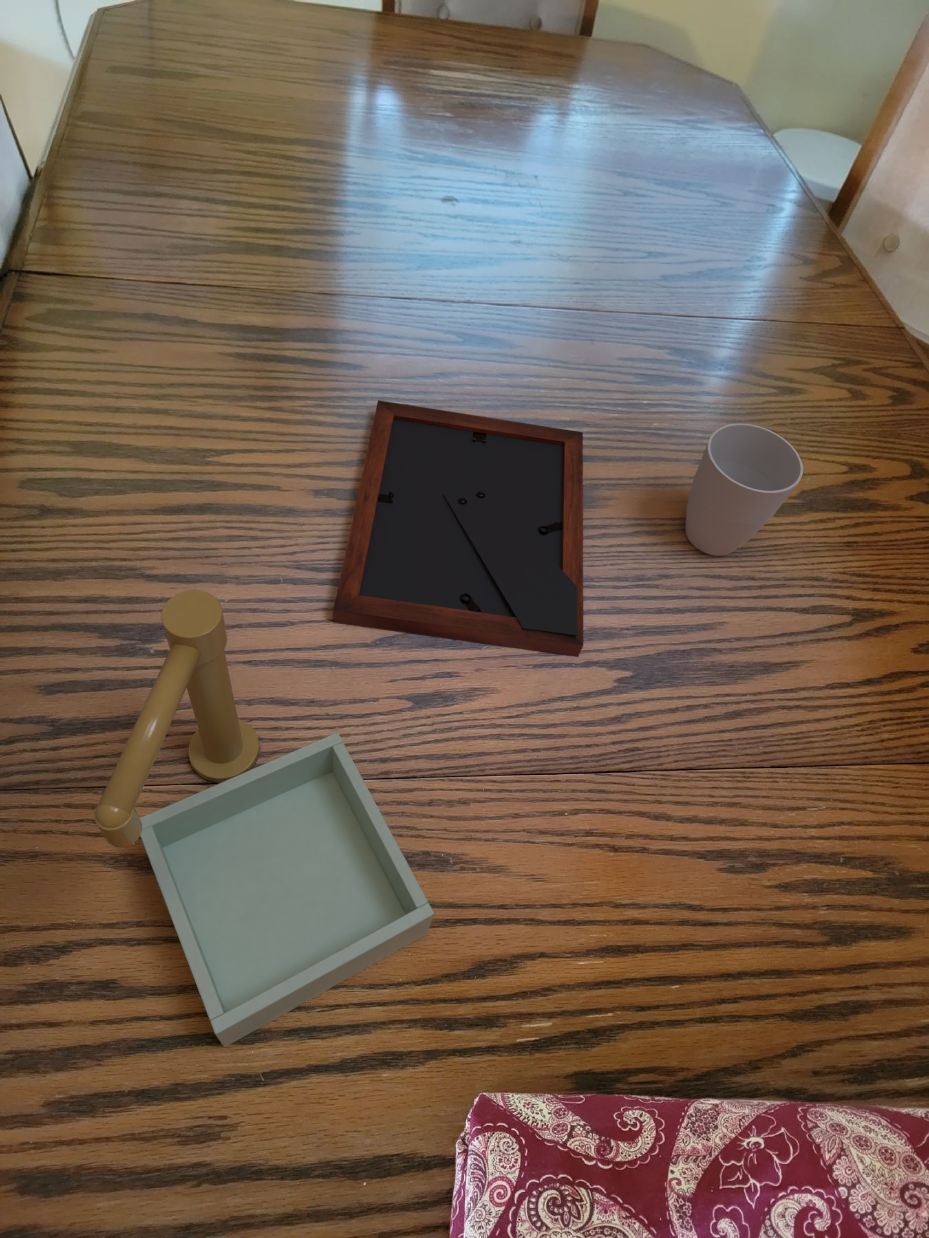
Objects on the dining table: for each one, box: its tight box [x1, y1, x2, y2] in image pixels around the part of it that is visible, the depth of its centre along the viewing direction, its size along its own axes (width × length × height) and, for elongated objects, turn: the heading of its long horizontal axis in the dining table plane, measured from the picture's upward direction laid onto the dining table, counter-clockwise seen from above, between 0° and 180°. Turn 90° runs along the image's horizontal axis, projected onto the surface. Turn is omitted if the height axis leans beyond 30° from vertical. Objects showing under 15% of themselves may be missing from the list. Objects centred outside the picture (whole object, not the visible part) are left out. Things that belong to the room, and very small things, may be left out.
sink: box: [139, 731, 435, 1048], centre depth 52 cm, size 14×14×5 cm
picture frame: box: [332, 399, 584, 657], centre depth 74 cm, size 20×2×25 cm
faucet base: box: [186, 649, 261, 784], centre depth 54 cm, size 5×5×14 cm
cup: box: [685, 422, 804, 557], centre depth 74 cm, size 8×8×10 cm
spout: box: [93, 589, 228, 848], centre depth 44 cm, size 14×3×4 cm, turn 170°
